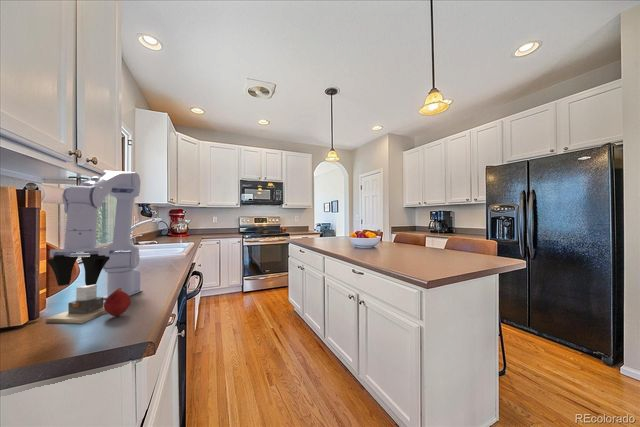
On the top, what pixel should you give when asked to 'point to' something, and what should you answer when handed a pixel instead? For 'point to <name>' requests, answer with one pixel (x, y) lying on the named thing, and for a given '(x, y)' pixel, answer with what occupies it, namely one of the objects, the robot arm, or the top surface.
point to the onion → (117, 303)
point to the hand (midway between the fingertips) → (77, 285)
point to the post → (86, 293)
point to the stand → (80, 312)
